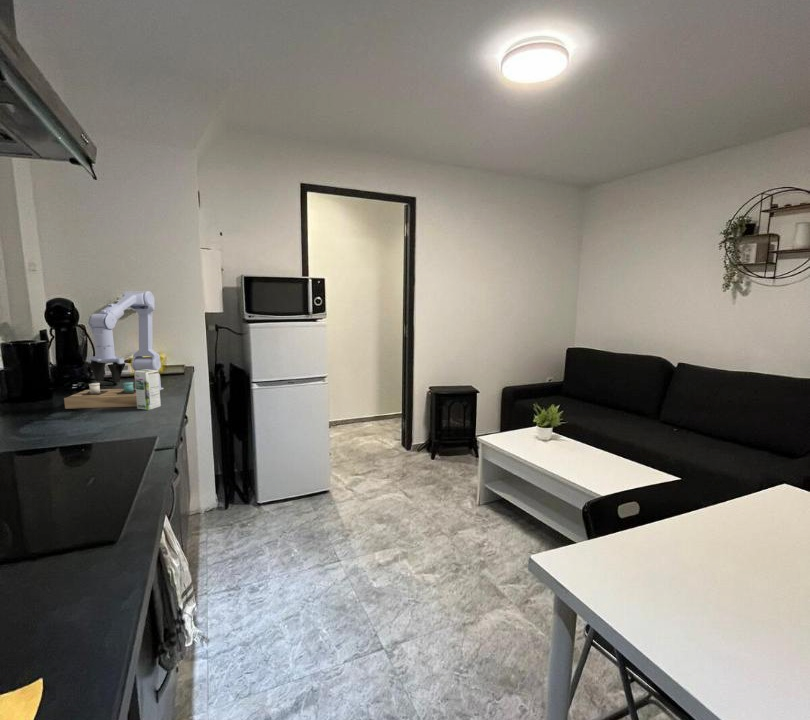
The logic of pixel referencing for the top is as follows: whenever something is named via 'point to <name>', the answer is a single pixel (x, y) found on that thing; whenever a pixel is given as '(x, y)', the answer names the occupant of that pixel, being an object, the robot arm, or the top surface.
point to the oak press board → (101, 399)
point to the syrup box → (147, 389)
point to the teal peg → (128, 387)
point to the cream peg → (94, 388)
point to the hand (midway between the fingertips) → (108, 381)
